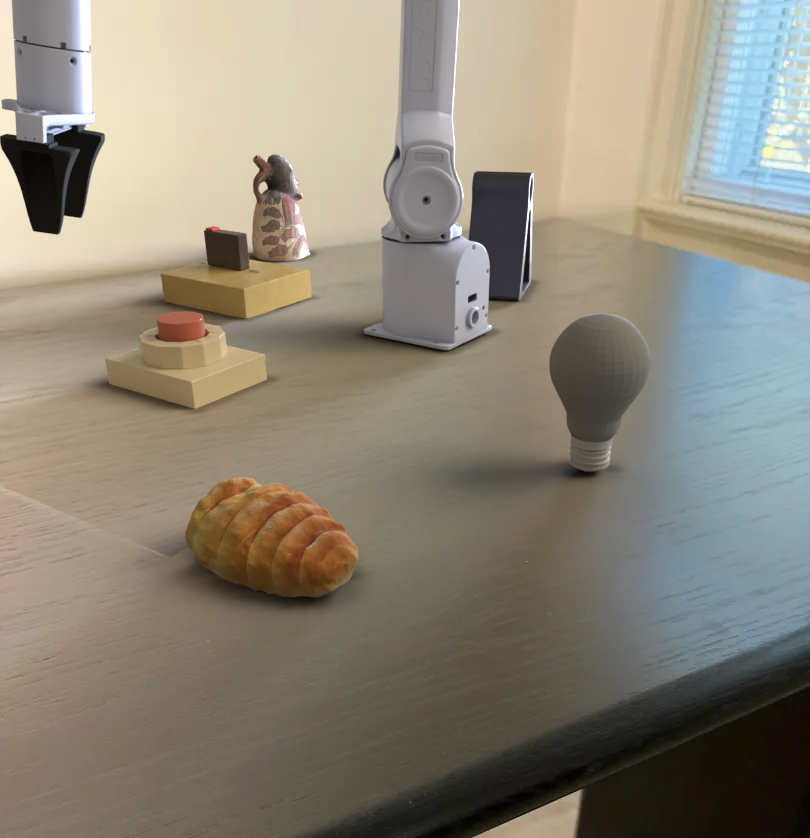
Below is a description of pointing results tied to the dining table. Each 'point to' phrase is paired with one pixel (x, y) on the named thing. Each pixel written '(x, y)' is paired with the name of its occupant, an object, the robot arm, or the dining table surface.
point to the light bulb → (597, 382)
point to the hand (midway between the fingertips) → (58, 223)
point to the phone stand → (504, 229)
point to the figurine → (277, 212)
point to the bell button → (180, 326)
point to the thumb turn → (226, 248)
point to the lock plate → (236, 288)
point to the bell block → (186, 368)
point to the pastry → (270, 539)
